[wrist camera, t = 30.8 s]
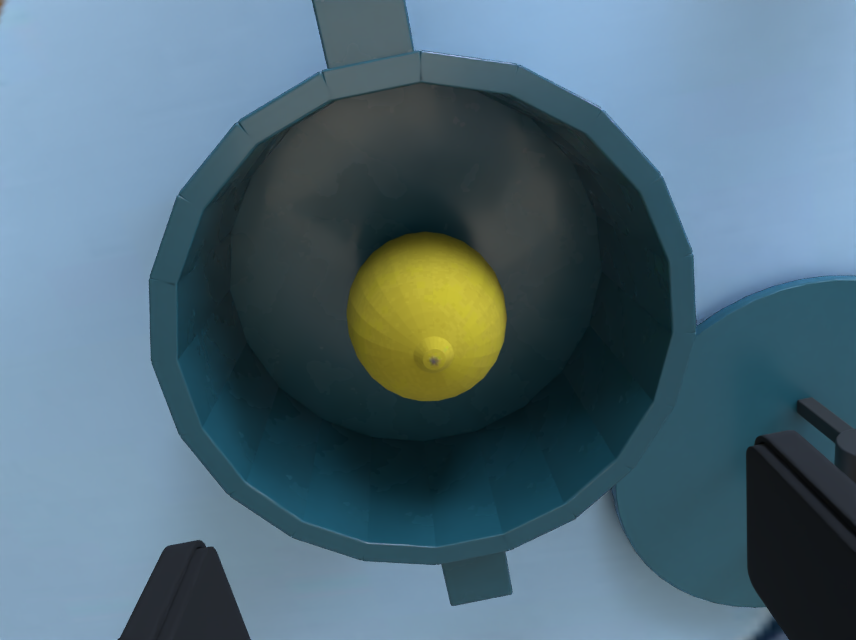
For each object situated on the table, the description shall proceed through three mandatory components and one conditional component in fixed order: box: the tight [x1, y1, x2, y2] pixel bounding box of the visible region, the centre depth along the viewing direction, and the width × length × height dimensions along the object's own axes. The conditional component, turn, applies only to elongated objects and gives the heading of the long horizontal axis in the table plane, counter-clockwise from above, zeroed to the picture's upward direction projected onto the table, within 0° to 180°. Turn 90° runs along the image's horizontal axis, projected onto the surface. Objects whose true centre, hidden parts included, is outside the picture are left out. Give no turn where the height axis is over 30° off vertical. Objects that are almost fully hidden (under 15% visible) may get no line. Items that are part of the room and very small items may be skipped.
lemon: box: [347, 232, 507, 401], centre depth 22 cm, size 6×6×8 cm
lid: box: [612, 276, 856, 608], centre depth 28 cm, size 18×18×6 cm
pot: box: [149, 0, 696, 606], centre depth 23 cm, size 17×22×8 cm
